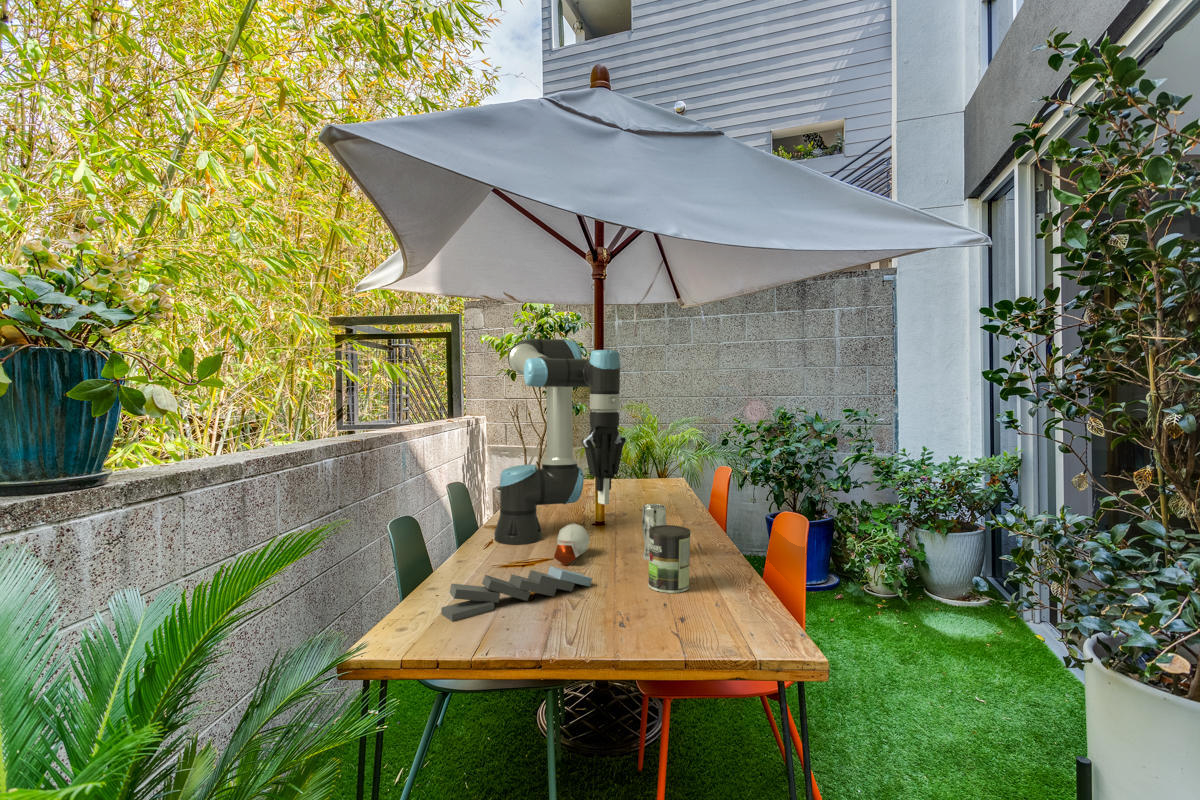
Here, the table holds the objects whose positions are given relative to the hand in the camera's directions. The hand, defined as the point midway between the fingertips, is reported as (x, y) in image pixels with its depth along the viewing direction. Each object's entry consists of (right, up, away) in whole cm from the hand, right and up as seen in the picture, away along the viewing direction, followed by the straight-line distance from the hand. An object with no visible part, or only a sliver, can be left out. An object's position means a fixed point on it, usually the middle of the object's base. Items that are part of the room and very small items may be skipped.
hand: (603, 503), depth 151 cm
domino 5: (-9, -19, -7) cm, 22 cm away
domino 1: (-24, -18, -17) cm, 35 cm away
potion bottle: (-9, -19, +18) cm, 28 cm away
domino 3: (-18, -19, -14) cm, 29 cm away
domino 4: (-13, -19, -10) cm, 25 cm away
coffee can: (+16, -20, -5) cm, 26 cm away
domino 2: (-26, -19, -19) cm, 37 cm away
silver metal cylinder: (+15, -19, +20) cm, 31 cm away
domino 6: (-5, -19, -3) cm, 19 cm away
